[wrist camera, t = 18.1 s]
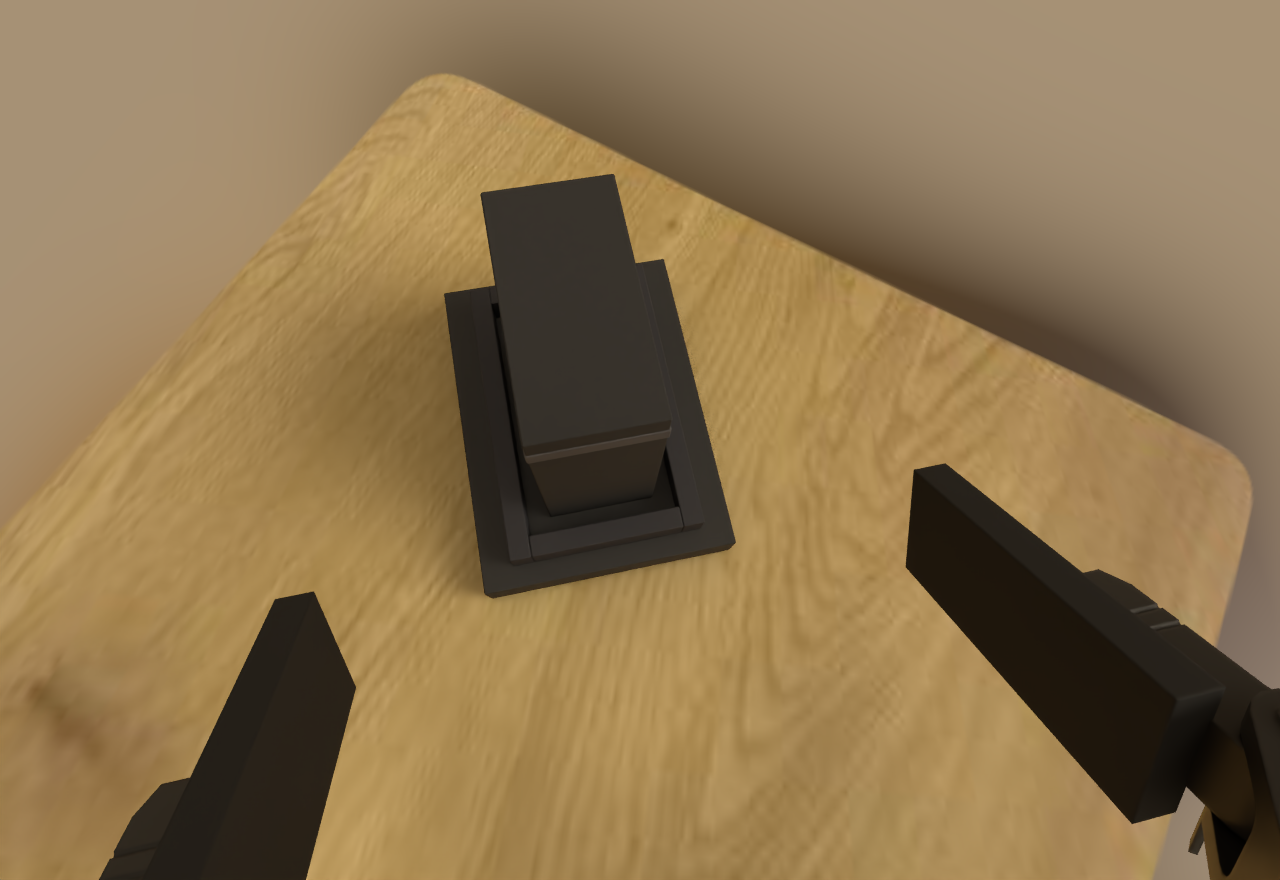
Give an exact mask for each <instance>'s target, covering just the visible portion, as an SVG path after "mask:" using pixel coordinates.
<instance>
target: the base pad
mask: <svg viewBox="0 0 1280 880" xmlns="http://www.w3.org/2000/svg"><path fill="white" fill-rule="evenodd" d="M636 268H637V272H638V276H639V280H640V284H641V289H642V293H643V297H644V301H645V305H646V310H647V314H648V318H649V322H650V326H651V330H652V335H653V339H654V343H655V347H656V351H657V355H658V360H659V364H660V368H661V372H662V376H663V381H664V385H665V389H666V393H667V397H668V401H669V406H670V410H671V414H672V423H671V433H670V437H668V438H667V442H666V446H665V450H664V453H663V457H662V461H661V465H660V469H659V473H658V477H657V481H656V484H655V488H654V492H653V496H652V497H651V498H647V499H642V500H637V501H631V502H626V503H621V504H616V505H611V506H606V507H601V508H596V509H591V510H586V511H580V512H575V513H570V514H565V515H560V516H555V517H551V516H550V514H549V512H548V509H547V507H546V505H545V502H544V500H543V497H542V495H541V492H540V490H539V487H538V485H537V483H536V480H535V478H534V475H533V473H532V470H531V468H530V465H529V464H528V463H527V462H526V460H525V458H524V454H523V448H522V446H521V440H520V434H519V428H518V421H517V415H516V409H515V403H514V397H513V391H512V385H511V378H510V372H509V366H508V360H507V354H506V348H505V342H504V335H503V329H502V323H501V317H500V311H499V305H498V299H497V292H496V286H489V287H483V288H477V289H470V290H464V291H458V292H451V293H445V294H444V297H445V304H446V311H447V319H448V326H449V334H450V341H451V348H452V356H453V363H454V371H455V378H456V385H457V393H458V400H459V408H460V415H461V422H462V430H463V437H464V445H465V452H466V460H467V467H468V474H469V482H470V489H471V497H472V504H473V511H474V519H475V526H476V534H477V541H478V548H479V556H480V563H481V571H482V578H483V585H484V593H485V595H487V596H489V597H491V598H496V597H501V596H506V595H511V594H516V593H521V592H526V591H530V590H535V589H540V588H545V587H550V586H555V585H559V584H564V583H569V582H574V581H579V580H584V579H588V578H593V577H598V576H603V575H608V574H613V573H617V572H622V571H627V570H632V569H637V568H642V567H646V566H651V565H656V564H661V563H666V562H671V561H675V560H680V559H685V558H690V557H695V556H700V555H704V554H709V553H714V552H719V551H724V550H728V549H730V548H731V547H732V546H733V545H734V544H735V543H736V541H735V537H734V533H733V529H732V525H731V521H730V517H729V513H728V509H727V506H726V502H725V498H724V494H723V490H722V486H721V482H720V478H719V474H718V470H717V466H716V462H715V458H714V455H713V451H712V447H711V443H710V439H709V435H708V431H707V427H706V423H705V419H704V415H703V411H702V407H701V404H700V400H699V396H698V392H697V388H696V384H695V380H694V376H693V372H692V368H691V364H690V360H689V356H688V353H687V349H686V345H685V341H684V337H683V333H682V329H681V325H680V321H679V317H678V313H677V309H676V305H675V302H674V298H673V294H672V290H671V286H670V282H669V278H668V274H667V270H666V266H665V262H664V259H661V260H655V261H648V262H642V263H636Z"/></svg>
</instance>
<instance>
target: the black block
mask: <svg viewBox="0 0 1280 880" xmlns="http://www.w3.org/2000/svg"><path fill="white" fill-rule="evenodd" d="M481 200H482V206H483V213H484V219H485V225H486V231H487V237H488V243H489V249H490V256H491V262H492V268H493V274H494V280H495V286H496V292H497V299H498V305H499V311H500V317H501V323H502V329H503V335H504V342H505V348H506V354H507V360H508V366H509V372H510V378H511V385H512V391H513V397H514V403H515V409H516V415H517V421H518V428H519V434H520V440H521V446H522V448H523V454H524V458H525V460H526V462H527V463H528V464H529V465H530V468H531V470H532V473H533V475H534V478H535V480H536V483H537V485H538V487H539V490H540V492H541V495H542V497H543V500H544V502H545V505H546V507H547V509H548V512H549V514H550V516H551V517H555V516H560V515H565V514H570V513H575V512H580V511H586V510H591V509H596V508H601V507H606V506H611V505H616V504H621V503H626V502H631V501H637V500H642V499H647V498H651V497H652V496H653V492H654V488H655V484H656V481H657V477H658V473H659V469H660V465H661V461H662V457H663V453H664V450H665V446H666V442H667V438H668V437H670V433H671V423H672V414H671V410H670V406H669V401H668V397H667V393H666V389H665V385H664V381H663V376H662V372H661V368H660V364H659V360H658V355H657V351H656V347H655V343H654V339H653V335H652V330H651V326H650V322H649V318H648V314H647V310H646V305H645V301H644V297H643V293H642V289H641V284H640V280H639V276H638V272H637V268H636V264H635V259H634V255H633V251H632V247H631V243H630V239H629V234H628V230H627V226H626V222H625V218H624V213H623V209H622V205H621V201H620V197H619V193H618V188H617V184H616V180H615V176H614V174H609V175H602V176H595V177H588V178H581V179H574V180H567V181H560V182H553V183H546V184H539V185H532V186H525V187H518V188H511V189H504V190H497V191H490V192H483V193H481Z"/></svg>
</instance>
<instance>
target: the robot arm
mask: <svg viewBox="0 0 1280 880" xmlns="http://www.w3.org/2000/svg"><path fill="white" fill-rule="evenodd" d="M906 568H907V569H908V570H909V571H910V573H911V574H912V575H913V576H914V577H915V578H916V579H917V580H918V582H919V583H920V584H921V585H922V586H923V587H924V588H925V590H926V591H927V592H928V593H929V594H930V595H931V596H932V598H933V599H934V600H935V601H936V602H937V603H938V604H939V605H940V607H941V608H942V609H943V610H944V611H945V612H946V613H947V615H948V616H949V617H950V618H951V619H952V620H953V621H954V622H955V624H956V625H957V626H958V627H959V628H960V629H961V630H962V632H963V633H964V634H965V635H966V636H967V637H968V638H969V640H970V641H971V642H972V643H973V644H974V645H975V646H976V647H977V649H978V650H979V651H980V652H981V653H982V654H983V655H984V657H985V658H986V659H987V660H988V661H989V662H990V663H991V664H992V666H993V667H994V668H995V669H996V670H997V671H998V672H999V674H1000V675H1001V676H1002V677H1003V678H1004V679H1005V680H1006V682H1007V683H1008V684H1009V685H1010V686H1011V687H1012V688H1013V689H1014V691H1015V692H1016V693H1017V694H1018V695H1019V696H1020V697H1021V699H1022V700H1023V701H1024V702H1025V703H1026V704H1027V705H1028V707H1029V708H1030V709H1031V710H1032V711H1033V712H1034V713H1035V714H1036V716H1037V717H1038V718H1039V719H1040V720H1041V721H1042V722H1043V724H1044V725H1045V726H1046V727H1047V728H1048V729H1049V730H1050V731H1051V733H1052V734H1053V735H1054V736H1055V737H1056V738H1057V739H1058V741H1059V742H1060V743H1061V744H1062V745H1063V746H1064V747H1065V749H1066V750H1067V751H1068V752H1069V753H1070V754H1071V755H1072V756H1073V758H1074V759H1075V760H1076V761H1077V762H1078V763H1079V764H1080V766H1081V767H1082V768H1083V769H1084V770H1085V771H1086V772H1087V774H1088V775H1089V776H1090V777H1091V778H1092V779H1093V780H1094V781H1095V783H1096V784H1097V785H1098V786H1099V787H1100V788H1101V789H1102V791H1103V792H1104V793H1105V794H1106V795H1107V796H1108V797H1109V798H1110V800H1111V801H1112V802H1113V803H1114V804H1115V805H1116V806H1117V808H1118V809H1119V810H1120V811H1121V812H1122V813H1123V814H1124V816H1125V817H1126V818H1127V819H1128V820H1129V821H1130V822H1131V823H1132V824H1134V823H1138V822H1141V821H1145V820H1149V819H1152V818H1156V817H1160V816H1163V815H1167V814H1171V813H1174V812H1176V810H1177V808H1178V805H1179V803H1180V800H1181V798H1182V795H1183V793H1184V791H1185V788H1186V787H1187V788H1188V789H1190V791H1192V793H1194V795H1195V796H1196V797H1198V798H1199V799H1200V800H1201V801H1202V802H1203V803H1204V804H1205V807H1204V809H1203V812H1202V814H1201V816H1200V818H1199V821H1198V823H1197V825H1196V828H1195V830H1194V832H1193V835H1192V837H1191V839H1190V845H1189V851H1188V852H1190V853H1193V854H1196V855H1198V852H1199V850H1200V848H1201V846H1202V844H1203V841H1204V842H1205V849H1206V855H1207V861H1208V869H1209V875H1210V880H1280V689H1279V688H1278V689H1270V688H1269V687H1267V686H1266V685H1264V684H1263V683H1262V682H1260V681H1259V680H1257V679H1256V678H1255V677H1254V676H1252V675H1251V674H1249V673H1248V672H1247V671H1246V670H1244V669H1243V668H1242V667H1240V666H1239V665H1238V664H1236V663H1235V662H1234V661H1232V660H1231V659H1230V658H1228V657H1227V656H1226V655H1224V654H1223V653H1222V652H1220V651H1219V650H1218V649H1216V648H1215V647H1214V646H1212V645H1211V644H1210V643H1208V642H1207V641H1206V640H1205V639H1203V638H1202V637H1201V636H1199V635H1198V634H1197V633H1195V632H1194V631H1193V630H1191V629H1190V628H1189V627H1187V626H1186V625H1185V624H1184V625H1181V624H1180V623H1179V620H1178V619H1177V618H1175V617H1174V616H1173V615H1171V614H1170V613H1169V612H1167V611H1166V610H1165V609H1163V608H1159V607H1158V606H1157V603H1155V602H1154V601H1153V600H1151V599H1150V598H1149V597H1147V596H1146V595H1145V594H1143V593H1142V592H1141V591H1139V590H1138V589H1137V588H1135V587H1134V586H1133V585H1132V584H1129V583H1127V582H1125V581H1123V580H1121V579H1119V578H1116V577H1114V576H1112V575H1110V574H1108V573H1105V572H1103V571H1101V570H1099V569H1098V570H1094V571H1090V572H1085V573H1082V572H1081V571H1080V570H1078V569H1077V568H1076V567H1075V566H1073V565H1072V564H1071V563H1070V562H1068V561H1067V560H1066V559H1065V558H1063V557H1062V556H1061V555H1060V554H1058V553H1057V552H1056V551H1055V550H1053V549H1052V548H1051V547H1050V546H1048V545H1047V544H1046V543H1045V542H1043V541H1042V540H1041V539H1040V538H1038V537H1037V536H1036V535H1035V534H1033V533H1032V532H1031V531H1030V530H1028V529H1027V528H1026V527H1025V526H1023V525H1022V524H1021V523H1019V522H1018V521H1017V520H1016V519H1014V518H1013V517H1012V516H1011V515H1009V514H1008V513H1007V512H1006V511H1004V510H1003V509H1002V508H1001V507H999V506H998V505H997V504H996V503H994V502H993V501H992V500H991V499H989V498H988V497H987V496H986V495H984V494H983V493H982V492H981V491H979V490H978V489H977V488H976V487H974V486H973V485H972V484H971V483H969V482H968V481H967V480H966V479H964V478H963V477H962V476H961V475H959V474H958V473H957V472H956V471H954V470H953V469H952V468H950V467H949V466H948V465H947V464H940V465H935V466H930V467H925V468H920V469H916V470H914V474H913V486H912V498H911V510H910V522H909V533H908V545H907V557H906ZM355 690H356V686H355V684H354V682H353V679H352V677H351V675H350V673H349V670H348V668H347V666H346V663H345V661H344V659H343V657H342V654H341V652H340V650H339V647H338V645H337V643H336V641H335V638H334V636H333V634H332V632H331V629H330V627H329V625H328V622H327V620H326V618H325V616H324V613H323V611H322V609H321V607H320V604H319V602H318V600H317V597H316V595H315V593H314V592H309V593H304V594H299V595H294V596H289V597H284V598H279V599H275V600H274V603H273V605H272V607H271V609H270V611H269V613H268V615H267V617H266V619H265V622H264V624H263V626H262V628H261V630H260V632H259V634H258V636H257V638H256V640H255V643H254V645H253V647H252V649H251V651H250V653H249V655H248V657H247V659H246V662H245V664H244V666H243V668H242V670H241V672H240V674H239V676H238V678H237V680H236V683H235V685H234V687H233V689H232V691H231V693H230V695H229V697H228V699H227V701H226V704H225V706H224V708H223V710H222V712H221V714H220V716H219V718H218V720H217V723H216V725H215V727H214V729H213V731H212V733H211V735H210V737H209V739H208V741H207V744H206V746H205V748H204V750H203V752H202V754H201V756H200V758H199V760H198V763H197V765H196V767H195V769H194V771H193V773H192V775H191V777H190V778H186V779H182V780H178V781H173V782H169V783H164V784H161V785H160V786H159V788H158V789H157V790H156V791H155V792H154V793H153V794H152V795H151V797H150V798H149V799H148V800H147V801H146V802H145V803H144V804H143V806H142V807H141V808H140V809H139V810H138V811H137V812H136V813H135V815H134V816H133V817H132V818H131V820H130V822H129V824H128V826H127V828H126V830H125V832H124V833H123V835H122V837H121V839H120V841H119V843H118V845H117V847H116V849H115V850H114V858H112V859H110V860H109V862H108V864H107V865H106V867H105V869H104V871H103V873H102V875H101V877H100V879H99V880H306V877H307V873H308V870H309V866H310V862H311V858H312V854H313V850H314V847H315V843H316V839H317V835H318V831H319V827H320V824H321V820H322V816H323V812H324V808H325V805H326V801H327V797H328V793H329V789H330V785H331V782H332V778H333V774H334V770H335V766H336V762H337V759H338V755H339V751H340V747H341V743H342V739H343V736H344V732H345V728H346V724H347V720H348V716H349V713H350V709H351V705H352V701H353V697H354V693H355Z"/></svg>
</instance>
